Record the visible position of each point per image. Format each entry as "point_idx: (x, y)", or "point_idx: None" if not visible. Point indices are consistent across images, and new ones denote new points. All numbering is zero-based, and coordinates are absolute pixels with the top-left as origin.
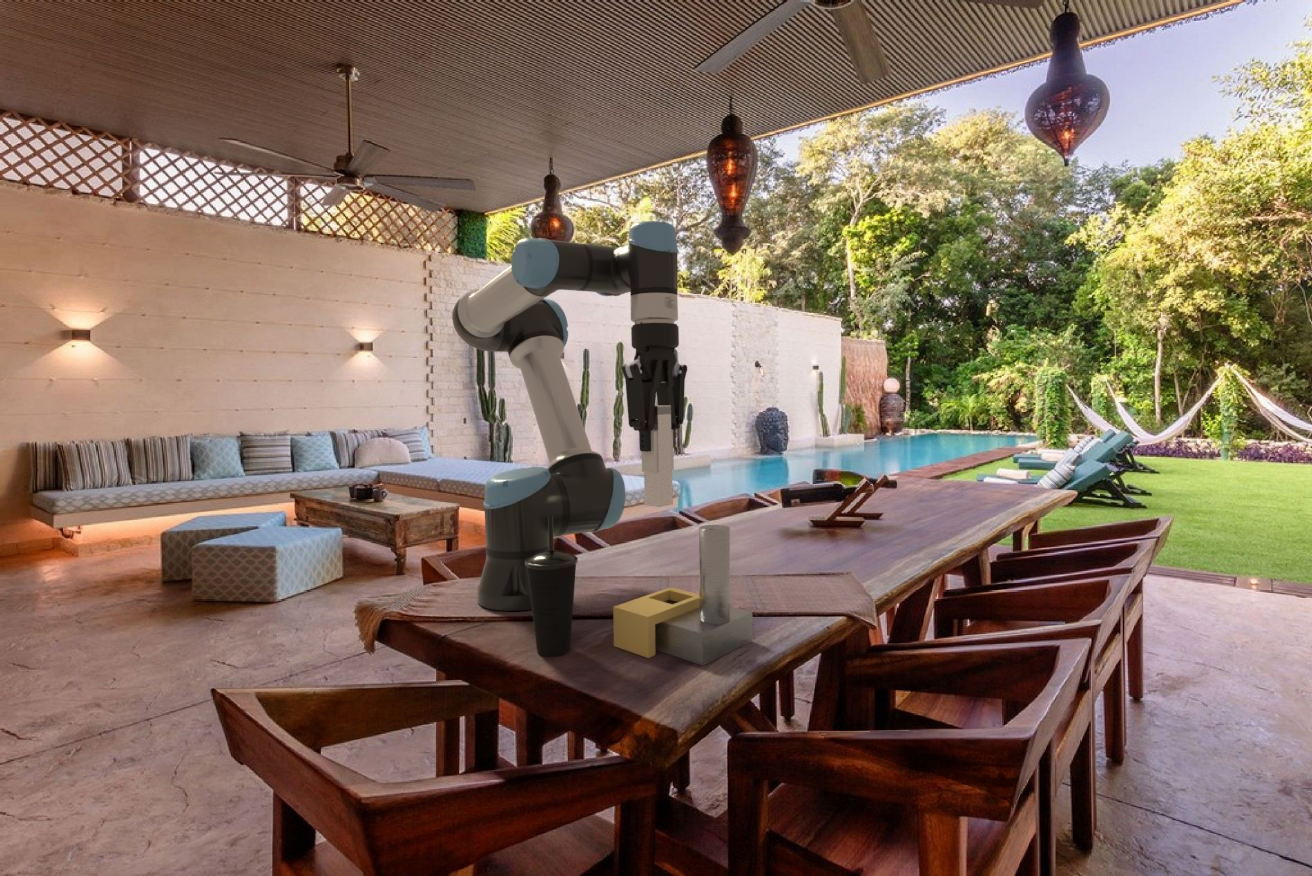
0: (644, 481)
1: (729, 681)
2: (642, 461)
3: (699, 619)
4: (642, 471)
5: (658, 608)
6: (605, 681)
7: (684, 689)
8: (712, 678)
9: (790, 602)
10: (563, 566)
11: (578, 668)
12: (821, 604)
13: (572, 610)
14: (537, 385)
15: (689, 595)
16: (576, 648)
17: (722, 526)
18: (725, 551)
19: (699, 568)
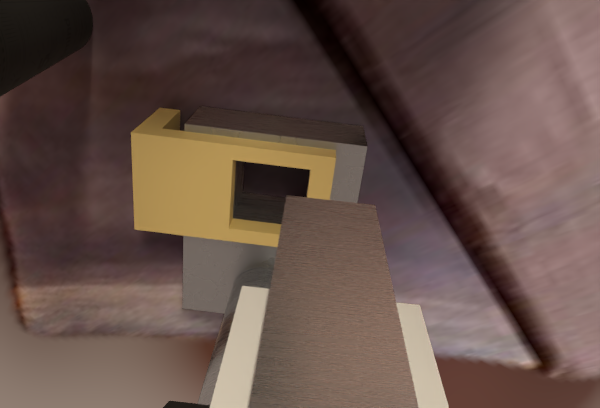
0: (277, 249)
1: (177, 325)
2: (232, 330)
3: (240, 272)
4: (241, 290)
5: (188, 218)
6: (46, 189)
7: (113, 292)
8: (169, 305)
9: (584, 267)
10: None
11: (44, 119)
12: (594, 317)
13: (43, 70)
14: None
15: None
16: (100, 49)
17: None
18: None
19: (224, 340)
